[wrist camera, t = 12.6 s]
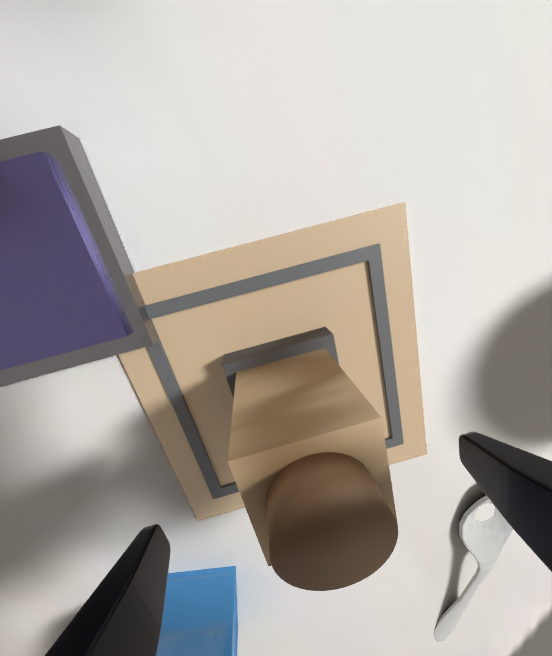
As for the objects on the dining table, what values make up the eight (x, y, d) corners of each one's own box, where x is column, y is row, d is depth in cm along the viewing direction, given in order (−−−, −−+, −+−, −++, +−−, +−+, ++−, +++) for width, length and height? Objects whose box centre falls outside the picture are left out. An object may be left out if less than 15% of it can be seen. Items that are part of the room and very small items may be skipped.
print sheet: (402, 203, 11) (407, 201, 11) (424, 451, 15) (428, 455, 15) (88, 285, 11) (82, 286, 10) (198, 517, 15) (197, 524, 15)
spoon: (519, 465, 17) (547, 486, 16) (451, 650, 23) (466, 680, 21) (464, 468, 17) (486, 491, 15) (408, 657, 22) (420, 688, 21)
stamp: (325, 326, 12) (432, 426, 5) (342, 412, 14) (444, 582, 7) (224, 354, 12) (190, 496, 5) (252, 438, 14) (258, 640, 6)
